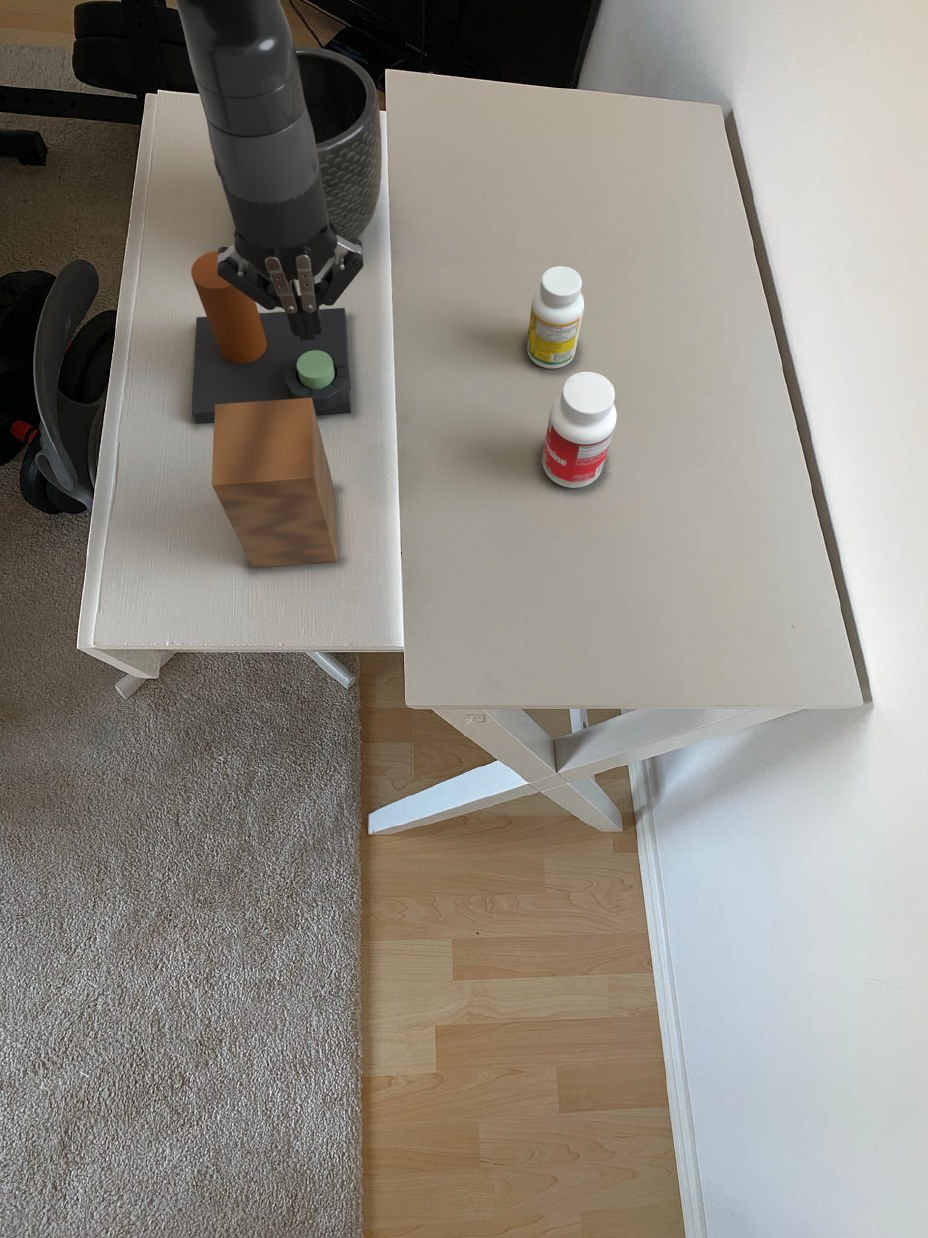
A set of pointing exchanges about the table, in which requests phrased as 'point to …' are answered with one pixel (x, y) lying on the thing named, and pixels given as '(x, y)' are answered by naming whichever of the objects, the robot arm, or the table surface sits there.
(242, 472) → the oak stand
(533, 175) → the table surface
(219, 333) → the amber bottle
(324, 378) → the button
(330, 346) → the scale
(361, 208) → the planter
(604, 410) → the pill bottle
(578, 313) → the supplement bottle
